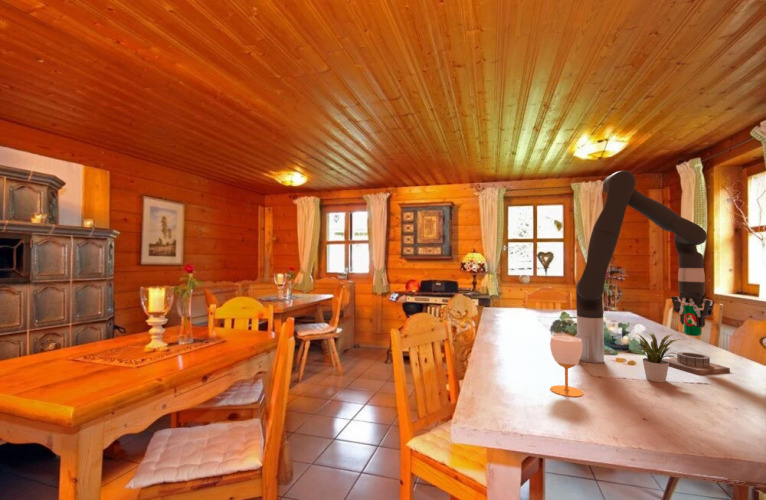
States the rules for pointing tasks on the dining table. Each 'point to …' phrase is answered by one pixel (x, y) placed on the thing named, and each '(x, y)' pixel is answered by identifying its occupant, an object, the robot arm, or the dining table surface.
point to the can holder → (695, 363)
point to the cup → (566, 361)
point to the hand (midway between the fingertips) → (692, 325)
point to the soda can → (690, 320)
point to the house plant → (656, 358)
